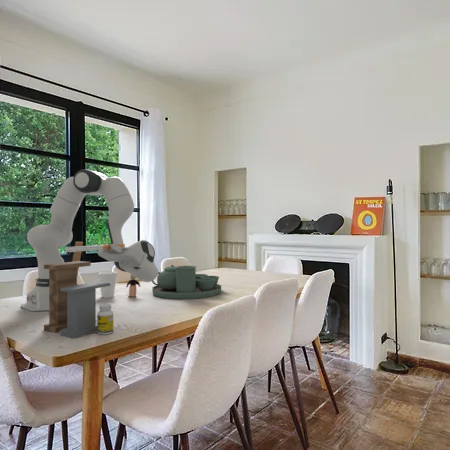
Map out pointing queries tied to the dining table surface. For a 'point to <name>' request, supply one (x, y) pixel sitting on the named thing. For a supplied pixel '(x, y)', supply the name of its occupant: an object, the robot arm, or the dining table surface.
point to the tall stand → (60, 292)
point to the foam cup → (108, 278)
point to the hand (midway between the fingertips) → (106, 245)
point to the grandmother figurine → (132, 286)
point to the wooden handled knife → (90, 248)
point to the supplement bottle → (105, 320)
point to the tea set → (185, 283)
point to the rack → (81, 309)
